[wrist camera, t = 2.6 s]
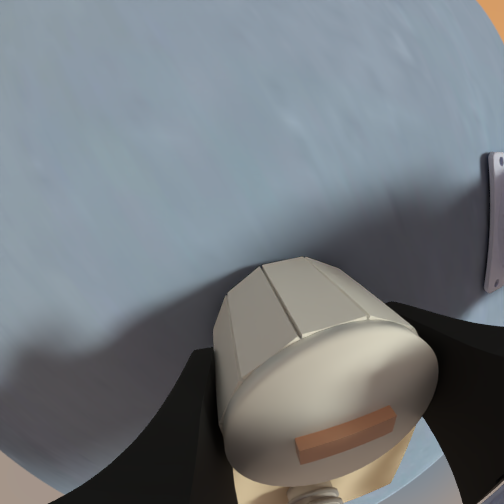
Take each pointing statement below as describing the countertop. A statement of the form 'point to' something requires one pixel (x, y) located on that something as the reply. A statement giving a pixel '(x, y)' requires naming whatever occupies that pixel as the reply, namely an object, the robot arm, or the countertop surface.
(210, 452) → the robot arm
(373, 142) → the countertop surface
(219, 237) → the countertop surface
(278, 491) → the post board
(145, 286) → the countertop surface
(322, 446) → the cream short cylinder
